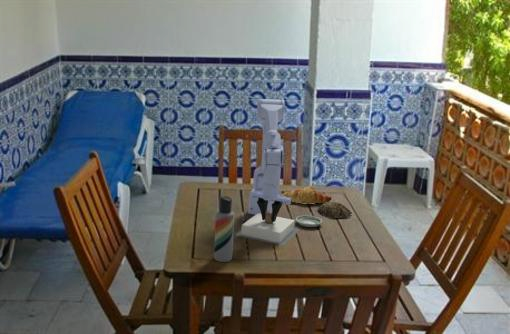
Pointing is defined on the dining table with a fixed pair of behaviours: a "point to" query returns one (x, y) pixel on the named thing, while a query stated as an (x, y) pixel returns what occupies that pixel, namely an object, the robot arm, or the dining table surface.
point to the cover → (268, 227)
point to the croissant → (307, 196)
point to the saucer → (308, 221)
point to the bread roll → (334, 210)
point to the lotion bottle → (224, 230)
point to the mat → (271, 241)
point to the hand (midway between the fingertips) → (268, 220)
